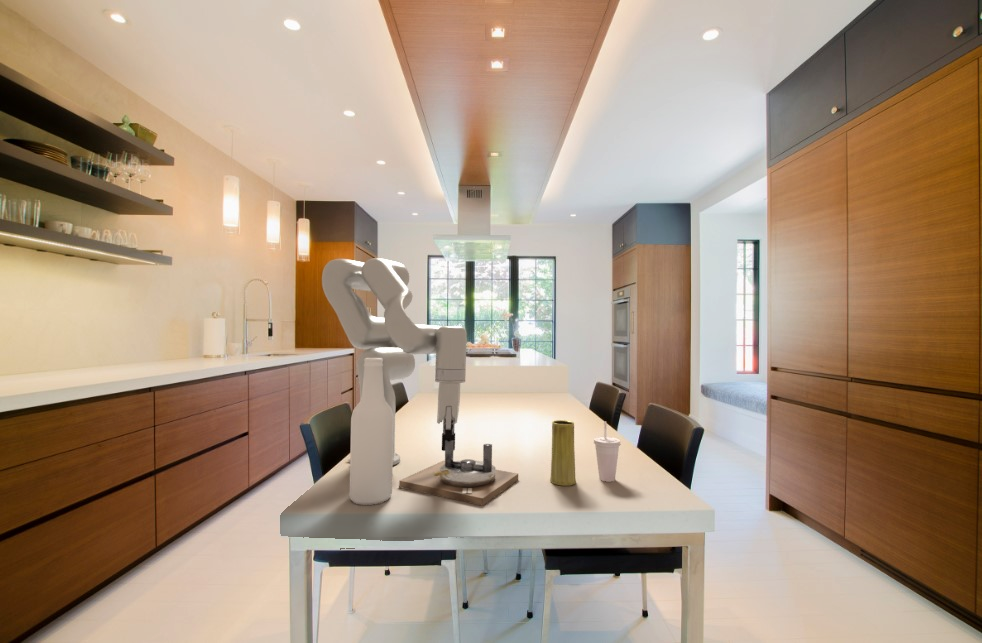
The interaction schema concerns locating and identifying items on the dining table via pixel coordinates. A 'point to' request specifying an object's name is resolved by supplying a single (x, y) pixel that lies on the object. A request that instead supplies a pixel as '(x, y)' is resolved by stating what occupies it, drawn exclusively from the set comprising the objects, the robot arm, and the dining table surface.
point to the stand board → (475, 495)
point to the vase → (563, 453)
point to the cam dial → (467, 468)
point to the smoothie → (607, 456)
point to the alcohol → (371, 440)
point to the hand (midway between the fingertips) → (448, 449)
